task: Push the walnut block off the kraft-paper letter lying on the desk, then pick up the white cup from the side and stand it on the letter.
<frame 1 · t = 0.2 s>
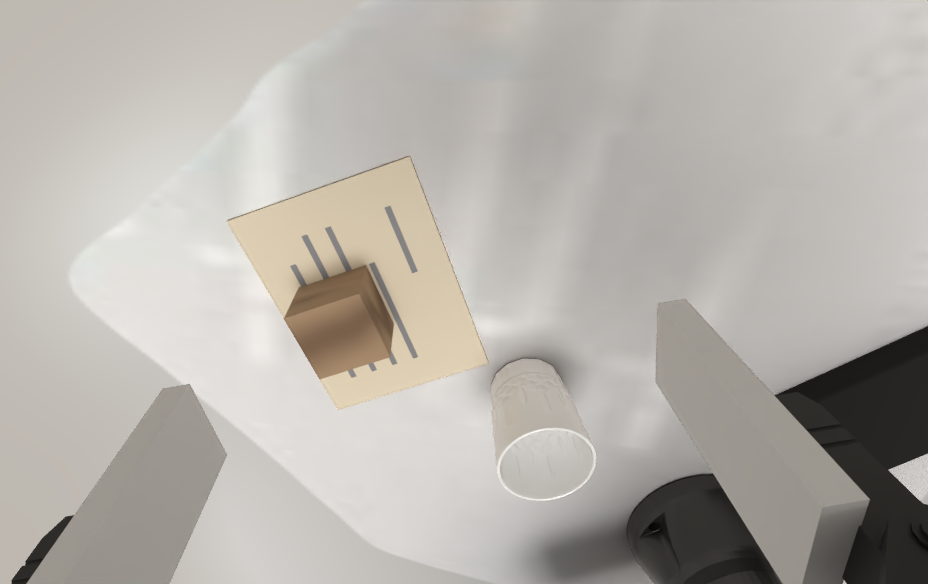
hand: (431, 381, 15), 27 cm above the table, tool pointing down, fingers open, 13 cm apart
letter: (369, 297, 44), on the table
external hard drive: (845, 410, 54), on the table
block: (347, 306, 44), resting on letter
white cup: (525, 385, 49), on the table
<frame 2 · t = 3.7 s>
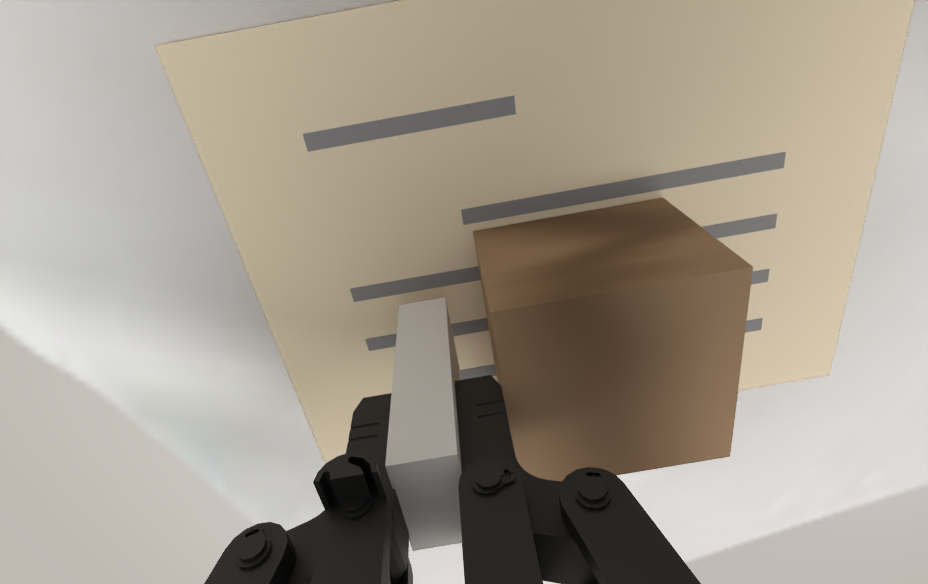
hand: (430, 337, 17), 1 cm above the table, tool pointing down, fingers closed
letter: (559, 242, 17), on the table
block: (573, 297, 17), resting on letter, touching gripper
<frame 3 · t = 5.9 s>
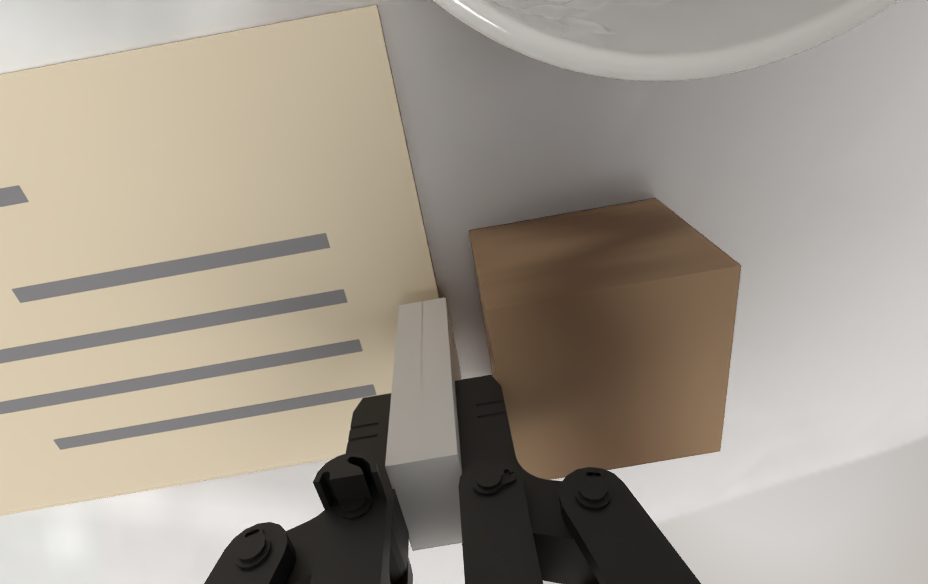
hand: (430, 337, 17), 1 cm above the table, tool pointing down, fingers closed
letter: (134, 316, 17), on the table
block: (567, 295, 18), on the table, touching gripper
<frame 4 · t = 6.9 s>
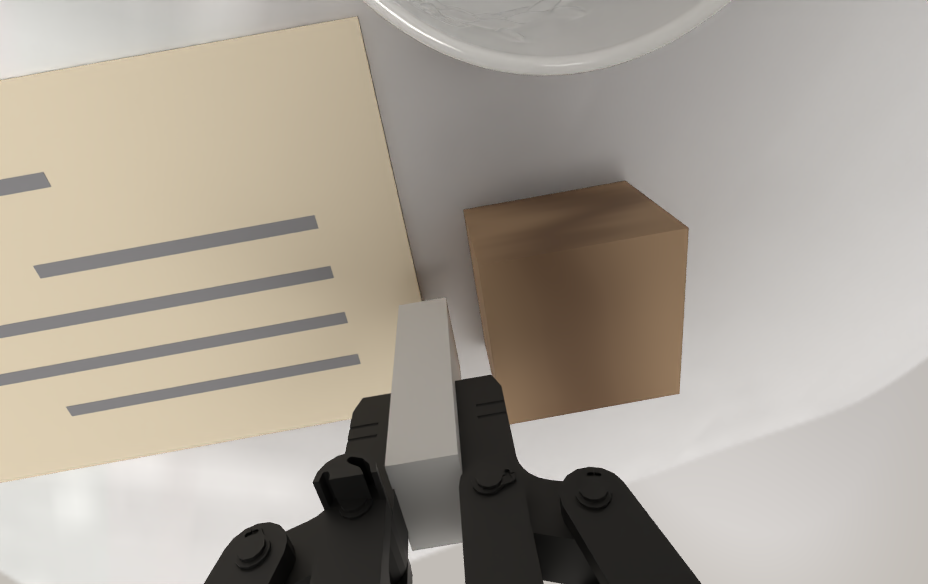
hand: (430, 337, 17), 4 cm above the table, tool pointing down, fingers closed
letter: (142, 291, 19), on the table
block: (549, 267, 20), on the table
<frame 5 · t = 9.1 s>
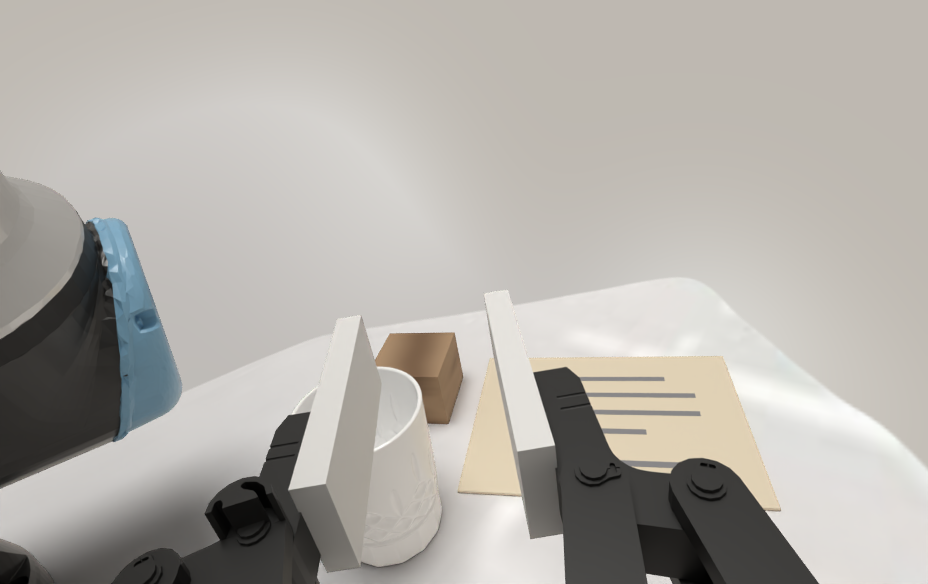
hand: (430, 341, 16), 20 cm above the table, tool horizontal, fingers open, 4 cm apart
letter: (603, 418, 40), on the table
block: (423, 399, 45), on the table
white cup: (393, 522, 35), on the table
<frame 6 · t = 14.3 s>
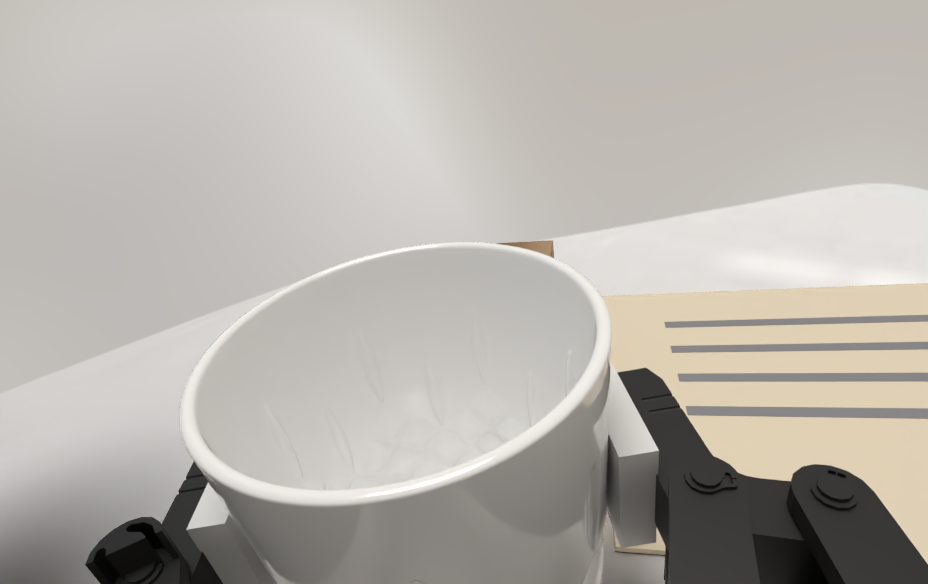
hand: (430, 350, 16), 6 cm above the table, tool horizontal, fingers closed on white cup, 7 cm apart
letter: (876, 389, 20), on the table
block: (493, 362, 25), on the table
when the fingers open (6 cm above the table, at t = 20.1 s): white cup stays where it is, resting on letter.
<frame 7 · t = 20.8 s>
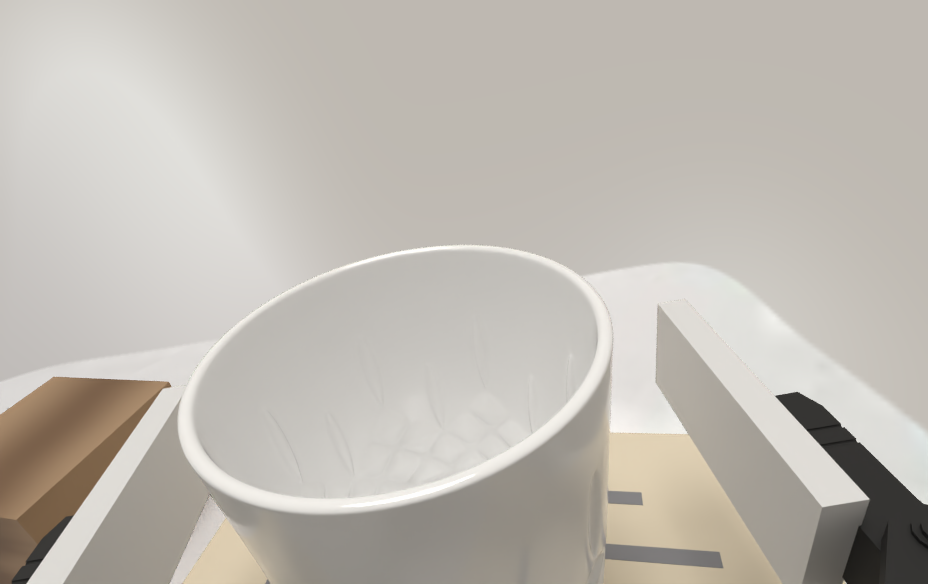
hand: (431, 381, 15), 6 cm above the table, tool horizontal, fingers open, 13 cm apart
block: (109, 527, 20), on the table
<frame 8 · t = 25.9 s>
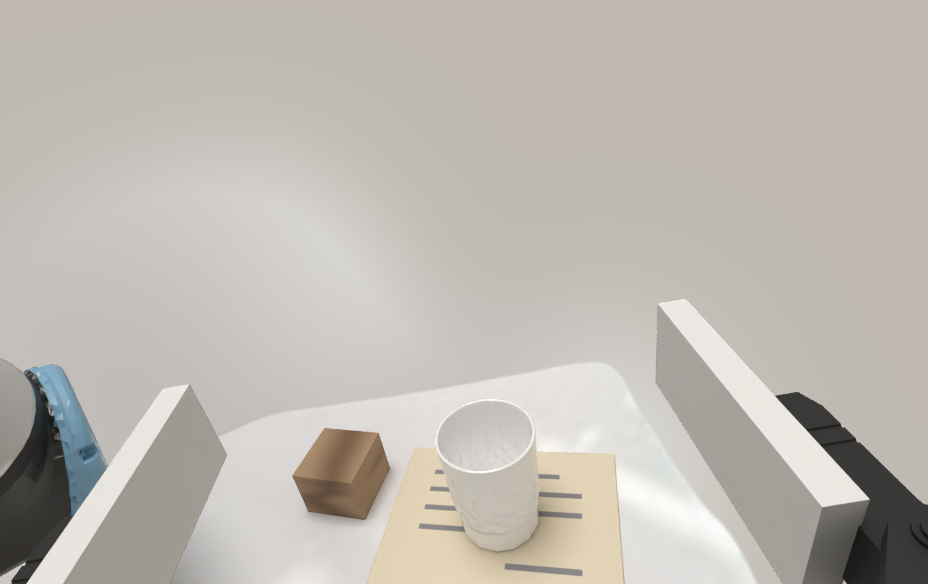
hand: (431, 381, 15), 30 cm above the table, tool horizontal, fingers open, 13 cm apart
letter: (500, 517, 45), on the table
block: (350, 490, 51), on the table
white cup: (500, 518, 45), resting on letter
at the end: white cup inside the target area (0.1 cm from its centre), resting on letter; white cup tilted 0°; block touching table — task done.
